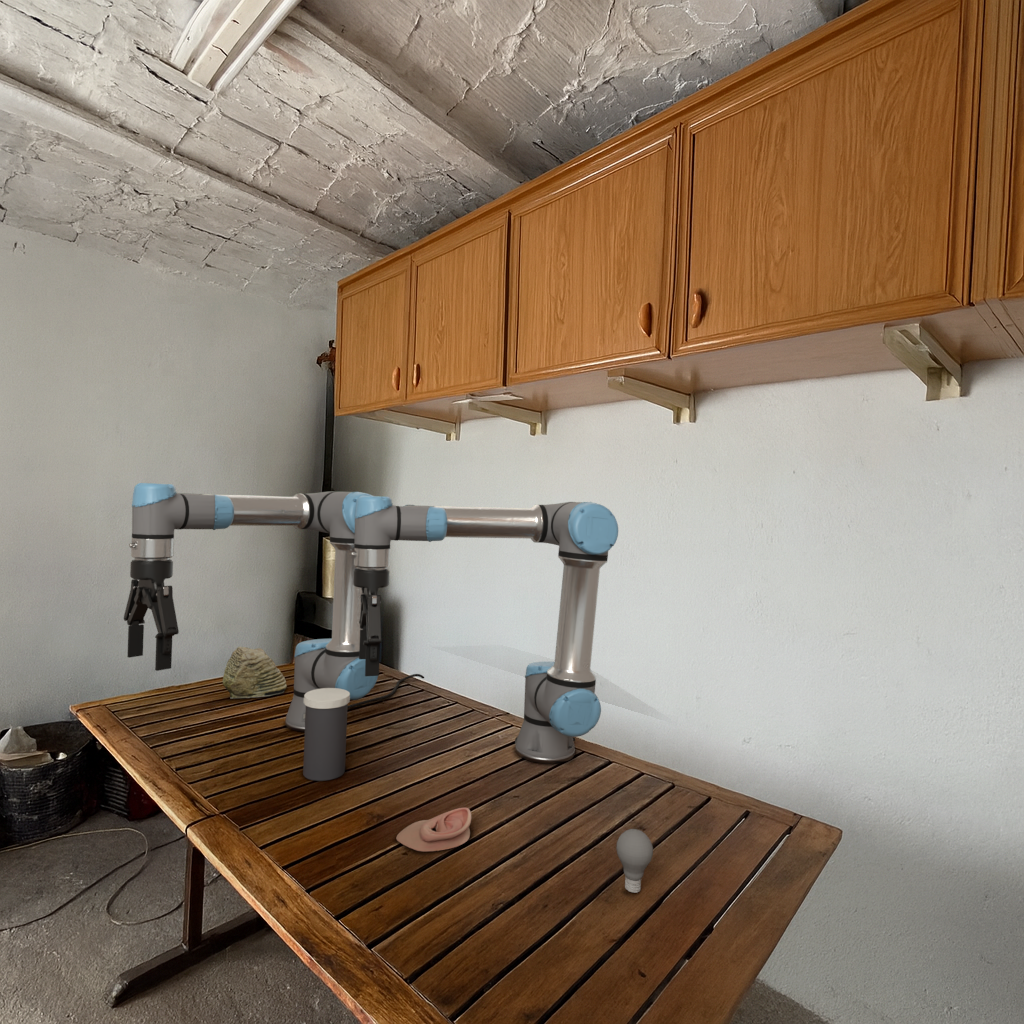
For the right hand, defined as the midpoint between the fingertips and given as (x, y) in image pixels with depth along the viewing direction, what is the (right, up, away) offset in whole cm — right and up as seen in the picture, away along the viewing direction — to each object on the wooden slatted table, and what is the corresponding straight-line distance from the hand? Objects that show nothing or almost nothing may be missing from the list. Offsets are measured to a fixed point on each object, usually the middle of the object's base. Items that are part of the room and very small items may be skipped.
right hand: (368, 666), depth 136 cm
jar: (-12, -27, +10) cm, 31 cm away
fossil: (-50, -24, +62) cm, 83 cm away
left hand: (-43, +2, -6) cm, 44 cm away
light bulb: (+51, -30, -30) cm, 66 cm away
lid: (-12, -9, +10) cm, 18 cm away
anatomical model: (+16, -28, -16) cm, 36 cm away
